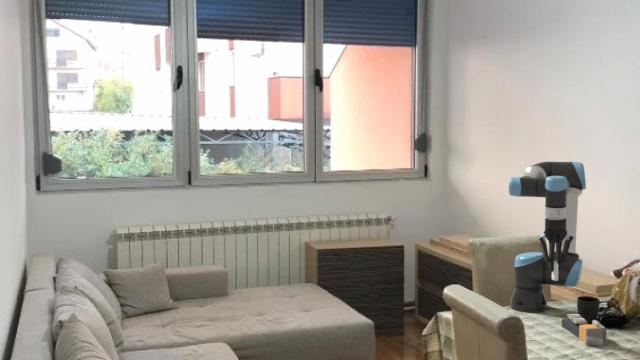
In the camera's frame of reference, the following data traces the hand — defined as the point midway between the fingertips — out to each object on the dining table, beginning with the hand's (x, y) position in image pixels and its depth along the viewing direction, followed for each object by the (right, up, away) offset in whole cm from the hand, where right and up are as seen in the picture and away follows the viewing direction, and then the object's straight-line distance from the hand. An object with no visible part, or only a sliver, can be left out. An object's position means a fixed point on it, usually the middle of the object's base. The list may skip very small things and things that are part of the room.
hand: (554, 279), depth 262 cm
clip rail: (+11, -21, -2) cm, 23 cm away
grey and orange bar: (+9, -20, 0) cm, 23 cm away
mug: (+19, -19, +13) cm, 30 cm away
